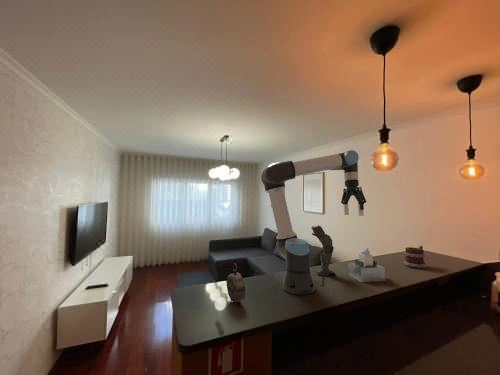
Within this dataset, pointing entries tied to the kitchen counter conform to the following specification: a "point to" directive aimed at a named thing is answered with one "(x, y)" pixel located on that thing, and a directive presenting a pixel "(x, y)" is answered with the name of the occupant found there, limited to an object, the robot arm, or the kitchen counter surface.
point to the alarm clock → (235, 287)
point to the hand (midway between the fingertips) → (353, 215)
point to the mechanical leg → (324, 251)
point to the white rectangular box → (366, 271)
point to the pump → (366, 257)
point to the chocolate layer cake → (415, 258)
